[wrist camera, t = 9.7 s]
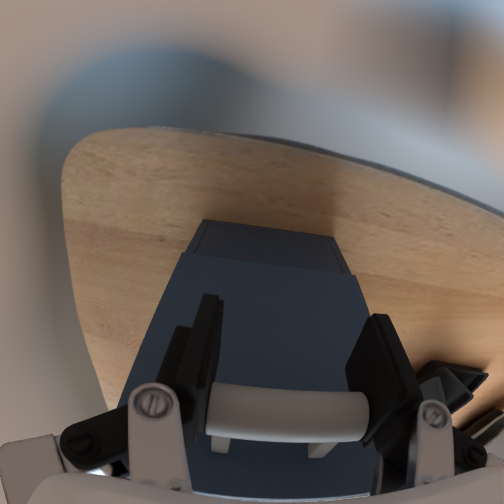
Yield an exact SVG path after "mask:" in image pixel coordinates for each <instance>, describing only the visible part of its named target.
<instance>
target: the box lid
mask: <svg viewBox="0 0 504 504" xmlns="http://www.w3.org/2000/svg"><path fill="white" fill-rule="evenodd" d="M204 293H208V294H214V295H219V299H221V300H224V312H223V323H222V334H221V346H220V356H219V362H218V367H217V372H216V378H215V382H213V383H212V385H211V389H210V394H209V399H208V406H207V414H206V424H205V434H201V433H199V435H198V440H197V441H196V440H195V442H194V445H193V446H191V447H190V448H188V449H186V450H185V451H186V457H187V463H188V469H189V474H190V480H191V485H192V490H193V494H196V495H203V496H210V497H217V498H225V499H234V500H246V501H265V502H305V501H323V500H335V499H344V498H353V497H360V496H366V495H370V493H371V487H372V482H373V476H374V470H375V464H376V457H377V453H376V449H375V448H369V449H363V443H362V442H360V441H359V440H360V439H361V438H362V437H363V436H364V434H365V432H366V430H367V427H368V423H369V404H368V400H367V398H366V396H365V395H364V394H363V393H362V392H349V389H348V384H347V379H346V375H345V366H346V363H347V361H348V359H349V357H350V355H351V353H352V351H353V348H354V346H355V344H356V342H357V340H358V338H359V335H360V333H361V331H362V329H363V326H364V324H365V322H366V319H367V318H368V317H371V316H370V313H369V310H368V307H367V305H366V302H365V299H364V297H363V294H362V291H361V288H360V286H359V283H358V281H357V278H356V276H355V275H350V274H342V273H334V272H327V271H319V270H311V269H303V268H296V267H288V266H280V265H273V264H265V263H258V262H250V261H243V260H235V259H228V258H221V257H214V256H206V255H199V254H192V253H185V252H182V254H181V256H180V259H179V261H178V263H177V265H176V267H175V269H174V271H173V273H172V276H171V278H170V280H169V282H168V284H167V287H166V289H165V291H164V293H163V295H162V298H161V300H160V302H159V304H158V307H157V309H156V311H155V313H154V316H153V318H152V320H151V323H150V325H149V327H148V330H147V332H146V334H145V337H144V339H143V342H142V344H141V347H140V349H139V351H138V354H137V356H136V359H135V361H134V364H133V366H132V369H131V371H130V374H129V377H128V379H127V382H126V384H125V387H124V390H123V392H122V395H121V398H120V400H119V403H118V406H117V408H118V407H121V406H123V405H126V404H128V401H129V396H130V394H131V393H132V391H133V390H134V389H135V388H137V387H138V386H140V385H142V384H145V383H152V382H154V383H155V380H156V378H157V375H158V372H159V369H160V367H161V364H162V361H163V359H164V356H165V354H166V351H167V348H168V346H169V343H170V341H171V338H172V335H173V333H174V330H175V328H176V326H177V325H180V326H186V327H191V328H192V326H193V323H194V320H195V317H196V314H197V311H198V308H199V305H200V302H201V299H202V296H203V294H204ZM126 478H128V479H130V476H128V477H126Z"/></svg>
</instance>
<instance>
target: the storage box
mask: <svg viewBox="0 0 504 504" xmlns="http://www.w3.org/2000/svg"><path fill="white" fill-rule="evenodd" d="M185 253H192V254H199V255H206V256H214V257H221V258H228V259H235V260H243V261H250V262H258V263H265V264H273V265H280V266H288V267H296V268H303V269H311V270H319V271H327V272H334V273H342V274H350V275H352V274H351V272H350V270H349V268H348V266H347V264H346V261H345V259H344V257H343V255H342V253H341V251H340V249H339V247H338V245H337V243H336V241H335V239H334V238H333V237H327V236H321V235H314V234H307V233H301V232H294V231H287V230H280V229H273V228H266V227H258V226H251V225H244V224H236V223H229V222H221V221H213V220H205V219H203V220H202V222H201V224H200V226H199V227H198V229H197V231H196V233H195V235H194V236H193V238H192V240H191V242H190V244H189V246H188V247H187V249H186V251H185Z"/></svg>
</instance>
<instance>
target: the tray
mask: <svg viewBox="0 0 504 504" xmlns="http://www.w3.org/2000/svg"><path fill="white" fill-rule="evenodd" d="M488 375H489V374H488V373H483V372H482V370H481V369H478V368H472V367H467V366H461V365H456V364H450V363H445V362H440V361H430V362H428V363H427V364H426V365H425V366H424V367H423V368H422V369H421V370H420V371H419V372H418V373H417V374H416V379H417V381H418V383H419V386H420V389H421V391H422V394H423V398H424V401H425V400H428V399H435V400H438V401H440V402H442V403H443V404H444V405H445V406H446V407H447V408H448V409H449V411H450V414H451V415H452V414H453V413H454V412H456V411H457V410H459V409H460V408H461V407H463V406H464V405H466V404H467V403H468V402H469V401H471V400H472V399H473V397H474V396H473V394H472V393H473V392H474V391H475V390H476V389H477V388H478V387H479V386H480V385H481V384H482V383H483V382H484V381H485V380H486V379H487V377H488Z"/></svg>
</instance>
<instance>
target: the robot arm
mask: <svg viewBox="0 0 504 504" xmlns="http://www.w3.org/2000/svg"><path fill="white" fill-rule="evenodd" d="M223 312H224V300H221V299H219V295H214V294H208V293H204V294H203V296H202V299H201V302H200V305H199V308H198V311H197V314H196V317H195V320H194V323H193V326H192V328H191V327H186V326H180V325H177V326H176V328H175V330H174V333H173V335H172V338H171V341H170V343H169V346H168V348H167V351H166V354H165V356H164V359H163V361H162V364H161V367H160V369H159V372H158V375H157V378H156V380H155V383H154V382H152V383H145V384H142V385H140V386H138V387H137V388H135V389H134V390H133V391H132V393H131V394H130V396H129V401H128V404H126V405H123V406H121V407H118V408H116V409H113V410H111V411H108V412H106V413H103V414H101V415H98V416H95V417H92V418H89V419H87V420H84V421H81V422H78V423H75V424H73V425H71V426H69V427H67V428H66V429H65V430H64V431H63V432H62V434H61V435H58V436H54V435H53V434H50V435H45V436H40V437H36V438H30V439H25V440H19V441H14V442H8V443H5V444H3V445H2V446H1V447H0V477H1V481H2V485H3V489H4V493H5V496H6V500H7V503H8V504H504V459H502V458H500V457H497V456H495V455H493V454H491V453H488V454H487V453H486V450H485V448H484V446H483V445H482V444H481V443H479V442H478V441H476V440H475V439H473V438H471V437H470V436H468V435H467V434H465V433H463V432H462V431H460V430H458V429H457V428H455V427H454V426H452V419H451V414H450V411H449V409H448V408H447V407H446V406H445V405H444V404H443V403H442V402H440V401H438V400H435V399H428V400H425V401H424V398H423V394H422V391H421V389H420V386H419V383H418V381H417V379H416V376H415V374H414V371H413V369H412V366H411V364H410V362H409V359H408V357H407V355H406V352H405V350H404V348H403V346H402V343H401V341H400V339H399V337H398V335H397V332H396V330H395V328H394V326H393V324H392V322H391V320H390V318H389V316H388V315H387V314H377V313H374V314H372V316H371V317H368V318H367V319H366V322H365V324H364V326H363V329H362V331H361V333H360V335H359V338H358V340H357V342H356V344H355V346H354V348H353V351H352V353H351V355H350V357H349V359H348V361H347V363H346V366H345V375H346V379H347V384H348V389H349V392H362V393H363V394H364V395H365V396H366V398H367V400H368V404H369V423H368V427H367V430H366V432H365V434H364V436H363V437H362V438H361V439H360V440H359V441H360V442H362V443H363V449H369V448H375V449H376V453H377V457H376V464H375V470H374V476H373V482H372V487H371V493H370V496H368V497H361V498H353V499H344V500H334V501H319V502H259V501H244V500H234V499H225V498H217V497H210V496H203V495H196V494H193V490H192V485H191V480H190V474H189V469H188V463H187V457H186V451H185V450H186V449H188V448H190V447H191V446H193V445H194V442H195V440H196V441H197V440H198V435H199V433H201V434H205V424H206V414H207V406H208V399H209V394H210V389H211V385H212V383H213V382H215V378H216V372H217V367H218V362H219V356H220V346H221V334H222V323H223ZM128 476H130V480H127V479H123V478H126V477H128Z"/></svg>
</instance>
